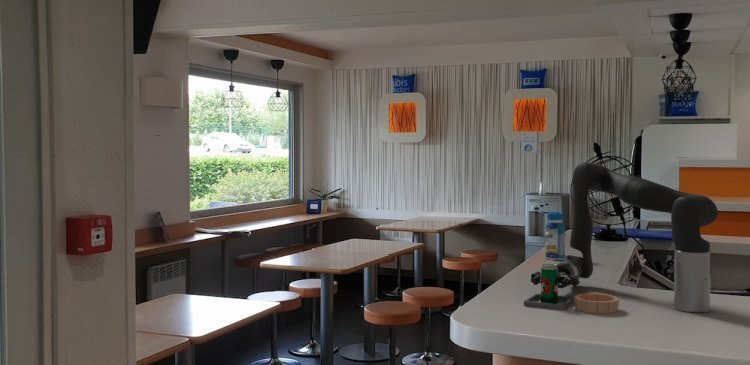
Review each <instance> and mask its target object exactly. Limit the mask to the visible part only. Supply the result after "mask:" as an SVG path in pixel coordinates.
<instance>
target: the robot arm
mask: <svg viewBox="0 0 750 365" xmlns="http://www.w3.org/2000/svg"><path fill="white" fill-rule="evenodd" d="M589 191H593V192H599V193H600V192H602V193H606V194H611V195H613V196H616V197H617V198H618V199H619V200H621V201H622V202H623V203H625V204H628V205H630V206H633V207H636V208H638V209H641V210H646V211H651V212H652V211H653V212H658V213H659V212H660V213H667V214H670V219H671V221H670V222H671V238H672V240H673V241H672V242H673V244H674V296H673V297H674V299H673V300H674V301H673V304H674V309H676V310H678V311H682V312H686V313H687V312H688V313H706V314H707V313H709V311H710V309H711V276H710V275H711V274H710V273H711V272H710V268H711V267H710V266H711V265H710V264H711V262H710V261H711V259H710V258H711V245H710V242H709V240H706V239H704V238H703V237H702V235H701V228H702V227H706V226H709V225H711V224H712V223H714V222H715V221H716V219H717V218H718V215H719V211H718V207H717V205H716V204H715V202H714V201H713V200H712V199H711V198H710V197H707V196H705V195H702V194H694V193H689V192H684V191H680V190H677V189H673V188H671V187H669V186H666V185H663V184H659V183H657V182H654V181H652V180H650V179H646V178H642V177H639V176H634V175H628V174H621V173H618V172H617V171H614V170H611V169H610V168H608V167H607V166H604V165H601V164H597V163H592V162H587V161H586V162H585V161H584V162H580V163H578V164H577V165H576V166H575V168H574V170H573V174H572V213H573V214H572V222H571V223H572V226H571V231H570V239H569V246H570V248H571V249H575V250H576V251H578V252H580V253H581V254H582V256H578V255H571V254H570V255H569V254H567V255H565V257H564V258H563V260H561V262H559V263H557V264H556V265H557V268H558V289H565V288H567V287H571V286H572V287H574V288H575V287H577V286H579V285H580V284H581V282H580V281H581V279H589V278H590V277H591V276H592V274H593V273H594V272H593V271H594V264H593V259H592V240H593V232H594V223H593V222H594V221H593V218H592V215H591V211H590V207H589ZM530 282H531V283H532V284H533V285H534V286H537V285H539V284H541V271H536V272H533V273H531V274H530Z"/></svg>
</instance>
